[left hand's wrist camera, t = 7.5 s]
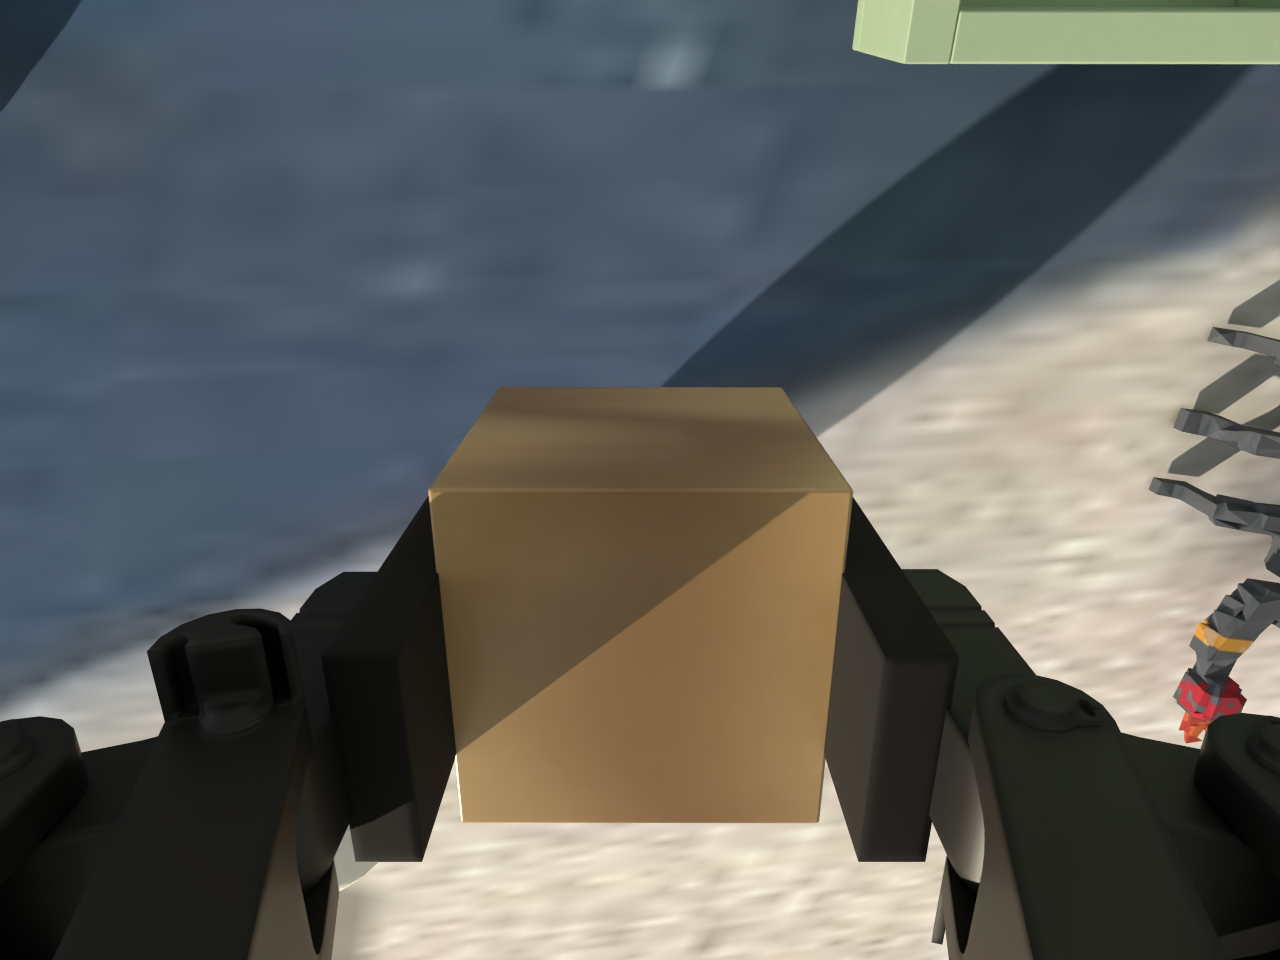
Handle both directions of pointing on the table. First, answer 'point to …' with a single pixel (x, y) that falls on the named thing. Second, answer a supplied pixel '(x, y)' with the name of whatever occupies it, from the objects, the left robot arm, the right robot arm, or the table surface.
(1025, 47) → the tray
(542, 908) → the table surface
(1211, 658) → the toy
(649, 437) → the block
